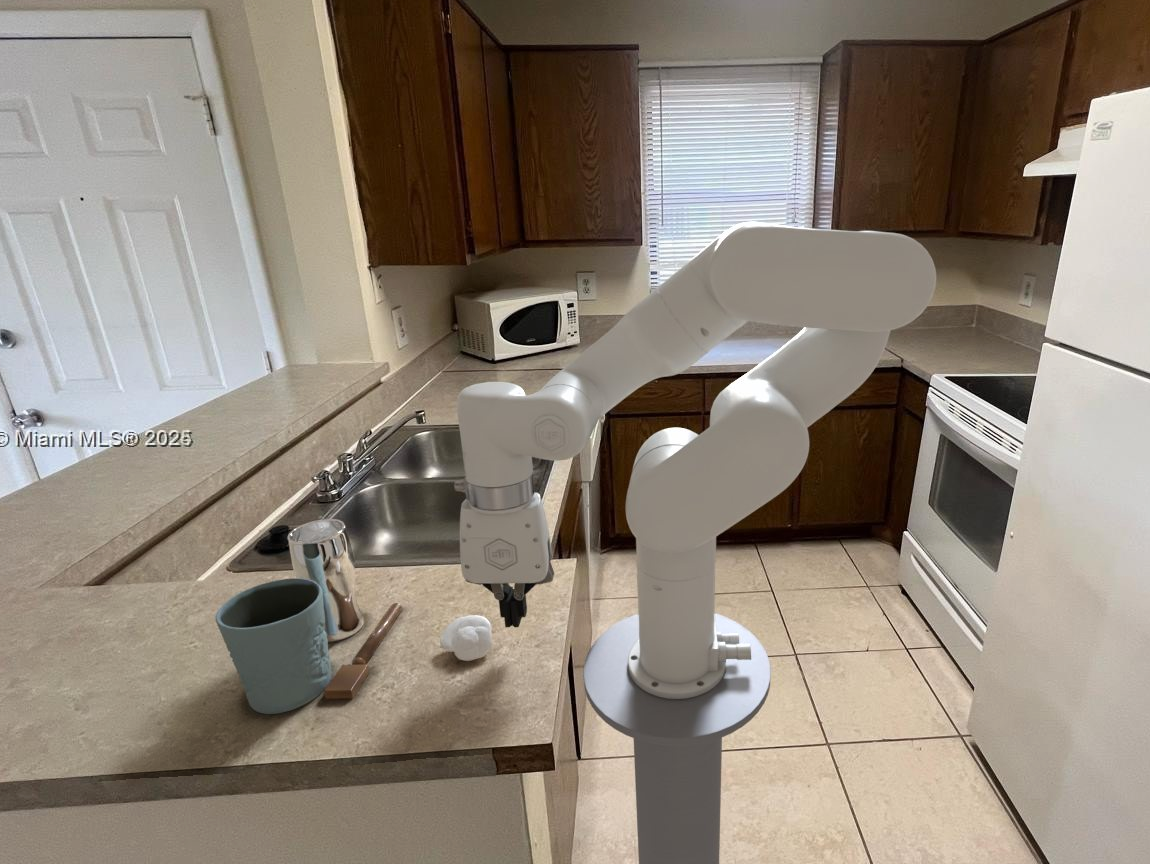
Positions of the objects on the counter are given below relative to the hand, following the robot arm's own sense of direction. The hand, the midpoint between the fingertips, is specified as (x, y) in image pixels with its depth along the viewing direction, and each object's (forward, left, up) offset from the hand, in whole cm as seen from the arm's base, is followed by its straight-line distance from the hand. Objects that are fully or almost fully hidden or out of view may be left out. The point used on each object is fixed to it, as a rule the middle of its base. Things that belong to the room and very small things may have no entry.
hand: (514, 620), depth 77 cm
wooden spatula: (+19, 0, -4) cm, 19 cm away
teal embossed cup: (+25, +6, -5) cm, 27 cm away
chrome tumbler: (+25, -5, -5) cm, 26 cm away
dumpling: (+6, 0, -5) cm, 8 cm away
